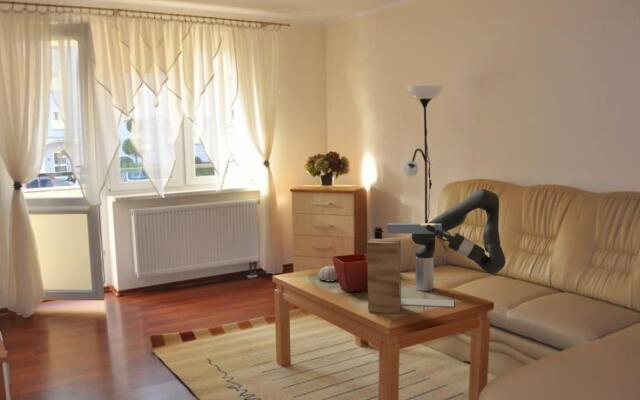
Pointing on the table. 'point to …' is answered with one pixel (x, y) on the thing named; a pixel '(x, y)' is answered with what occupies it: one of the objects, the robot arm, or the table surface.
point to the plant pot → (352, 271)
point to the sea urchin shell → (327, 273)
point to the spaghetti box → (411, 228)
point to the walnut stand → (384, 275)
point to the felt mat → (427, 302)
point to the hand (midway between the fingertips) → (426, 225)
